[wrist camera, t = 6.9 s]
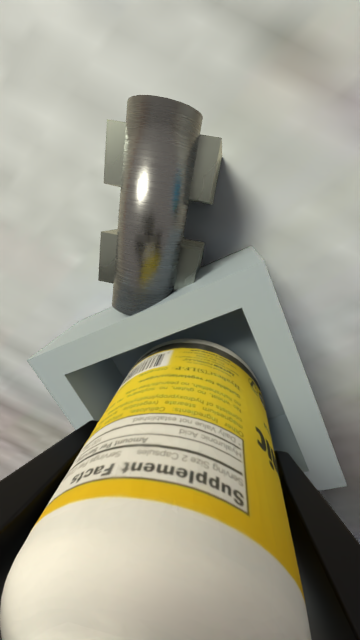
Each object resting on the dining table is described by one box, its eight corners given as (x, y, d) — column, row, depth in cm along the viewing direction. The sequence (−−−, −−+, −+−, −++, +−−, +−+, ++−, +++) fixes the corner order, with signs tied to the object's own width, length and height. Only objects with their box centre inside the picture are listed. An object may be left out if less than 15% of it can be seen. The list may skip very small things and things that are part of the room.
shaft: (194, 295, 12) (183, 327, 8) (121, 280, 12) (84, 306, 9) (224, 142, 9) (225, 106, 6) (135, 127, 10) (91, 86, 7)
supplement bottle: (245, 458, 12) (296, 1225, 3) (126, 429, 12) (-146, 994, 3) (280, 349, 10) (827, 1801, 1) (135, 320, 10) (-473, 1007, 1)
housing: (315, 415, 13) (347, 486, 10) (157, 454, 15) (139, 521, 12) (251, 245, 11) (264, 260, 7) (77, 322, 13) (26, 360, 10)
